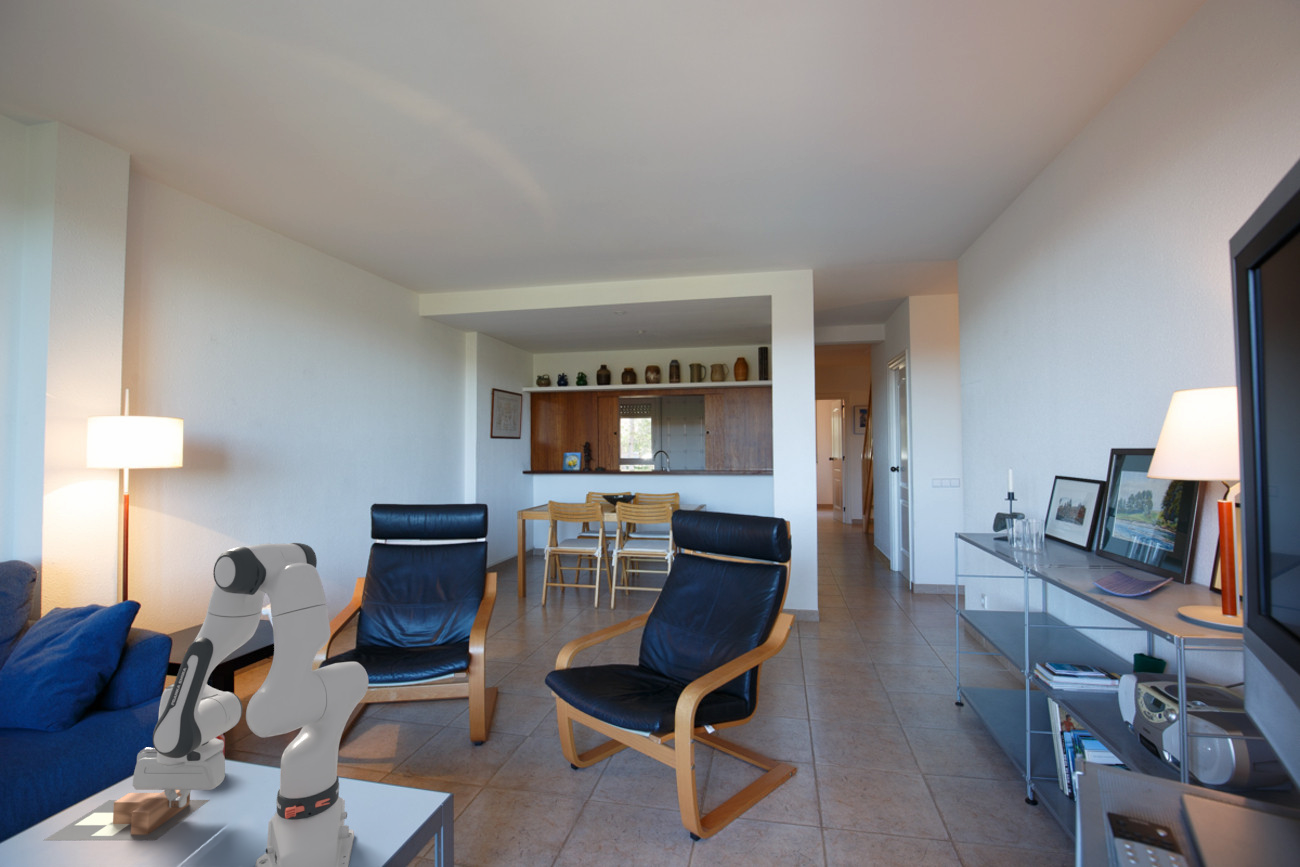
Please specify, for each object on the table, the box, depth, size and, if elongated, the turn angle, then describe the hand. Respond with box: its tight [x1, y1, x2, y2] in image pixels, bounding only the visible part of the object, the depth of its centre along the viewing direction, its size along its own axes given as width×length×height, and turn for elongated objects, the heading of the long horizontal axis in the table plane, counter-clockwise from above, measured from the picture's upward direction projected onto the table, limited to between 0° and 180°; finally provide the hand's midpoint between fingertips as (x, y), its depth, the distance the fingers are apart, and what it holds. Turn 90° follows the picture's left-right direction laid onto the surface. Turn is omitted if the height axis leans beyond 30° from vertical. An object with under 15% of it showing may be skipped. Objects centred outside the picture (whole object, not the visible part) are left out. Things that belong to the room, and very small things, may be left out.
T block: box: [113, 790, 191, 835], centre depth 139 cm, size 12×12×5 cm
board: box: [43, 799, 210, 841], centre depth 139 cm, size 26×16×1 cm, turn 90°
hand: (177, 806), depth 139 cm, fingers closed
